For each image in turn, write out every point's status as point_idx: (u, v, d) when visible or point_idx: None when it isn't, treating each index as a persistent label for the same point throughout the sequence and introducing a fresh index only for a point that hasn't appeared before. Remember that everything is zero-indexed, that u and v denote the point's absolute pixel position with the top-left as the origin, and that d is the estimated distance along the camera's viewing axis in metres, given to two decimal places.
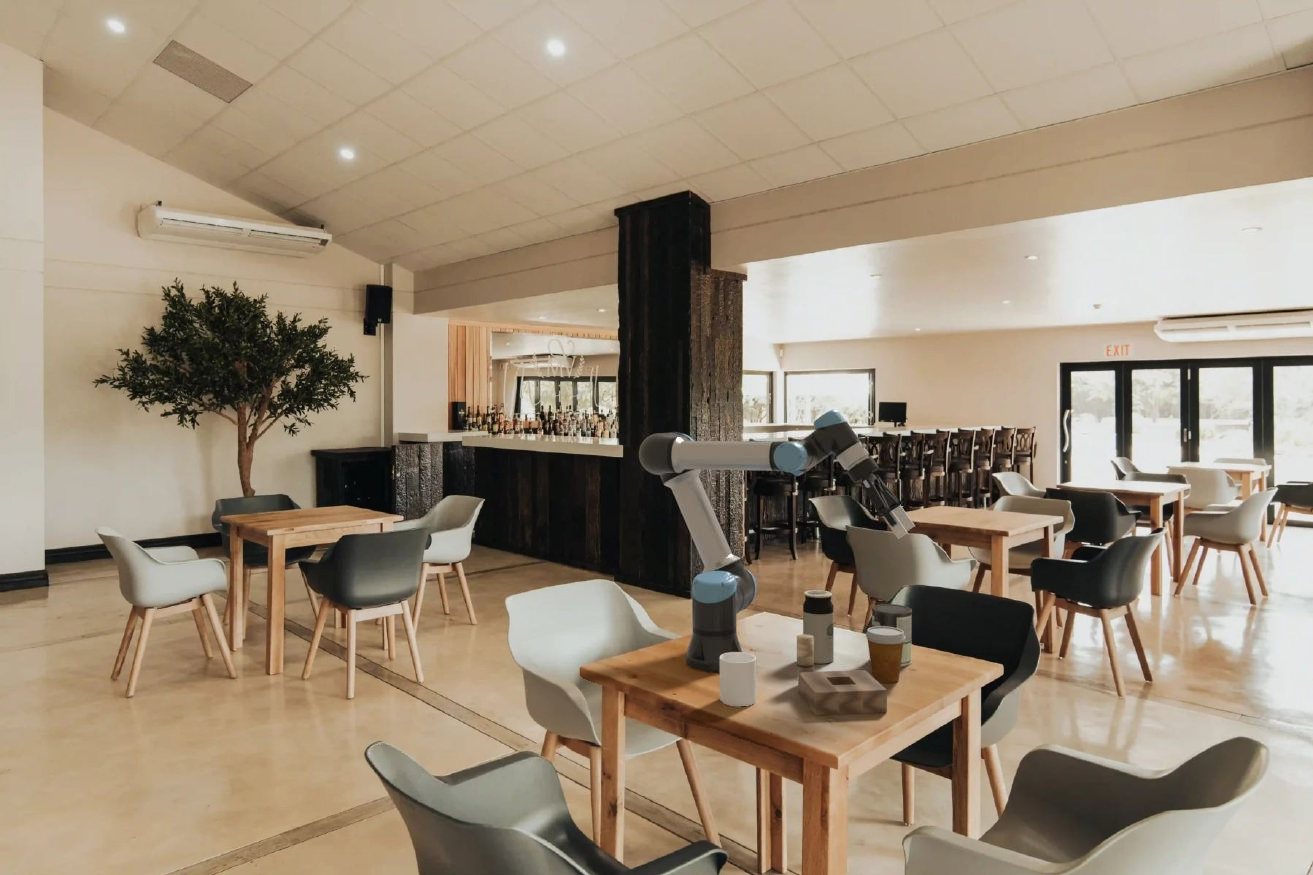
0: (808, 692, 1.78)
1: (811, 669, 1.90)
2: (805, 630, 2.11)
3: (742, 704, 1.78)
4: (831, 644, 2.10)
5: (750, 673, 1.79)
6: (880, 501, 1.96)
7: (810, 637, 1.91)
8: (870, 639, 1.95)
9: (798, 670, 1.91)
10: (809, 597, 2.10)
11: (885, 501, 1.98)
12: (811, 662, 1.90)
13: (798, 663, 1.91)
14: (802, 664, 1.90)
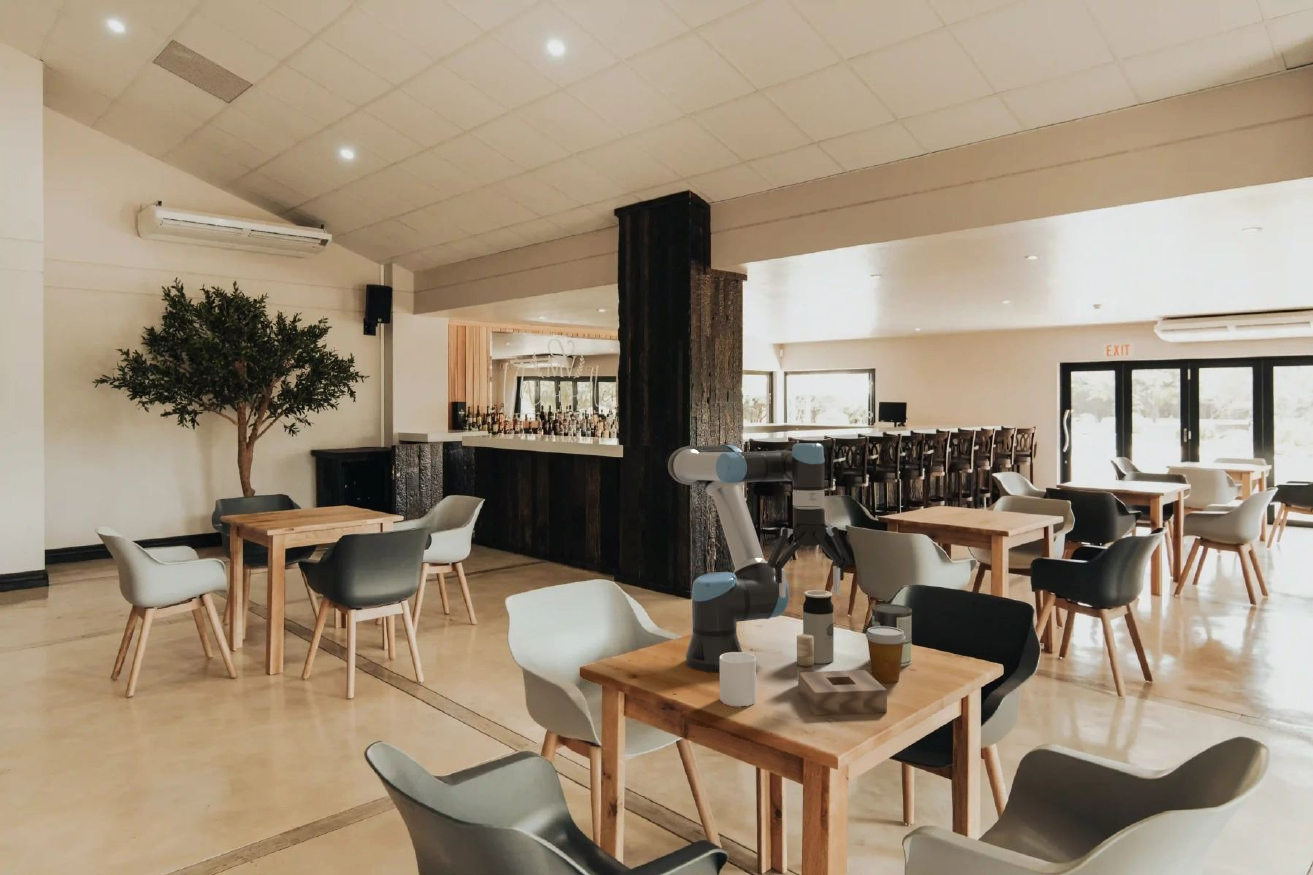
0: (808, 692, 1.78)
1: (811, 669, 1.90)
2: (805, 630, 2.11)
3: (742, 704, 1.78)
4: (831, 644, 2.10)
5: (750, 673, 1.79)
6: (773, 555, 1.90)
7: (810, 637, 1.91)
8: (870, 639, 1.95)
9: (798, 670, 1.91)
10: (809, 597, 2.10)
11: (787, 558, 1.90)
12: (811, 662, 1.90)
13: (798, 663, 1.91)
14: (802, 664, 1.90)
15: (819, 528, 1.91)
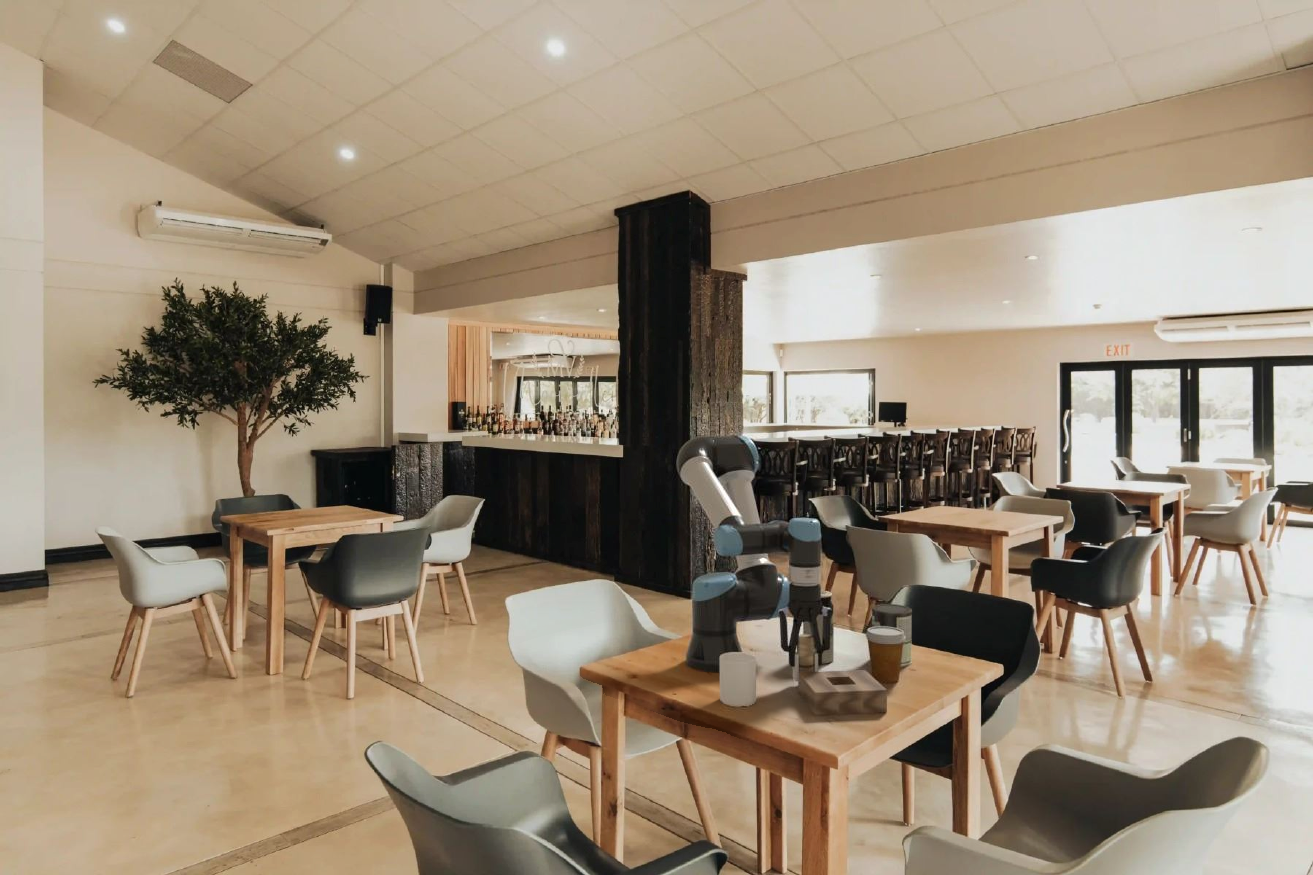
0: (808, 692, 1.78)
1: (811, 669, 1.90)
2: (805, 630, 2.11)
3: (742, 704, 1.78)
4: (831, 644, 2.10)
5: (750, 673, 1.79)
6: (782, 640, 1.91)
7: (810, 637, 1.91)
8: (870, 639, 1.95)
9: None
10: None
11: (795, 640, 1.90)
12: (811, 662, 1.90)
13: None
14: (802, 665, 1.90)
15: (817, 603, 1.91)
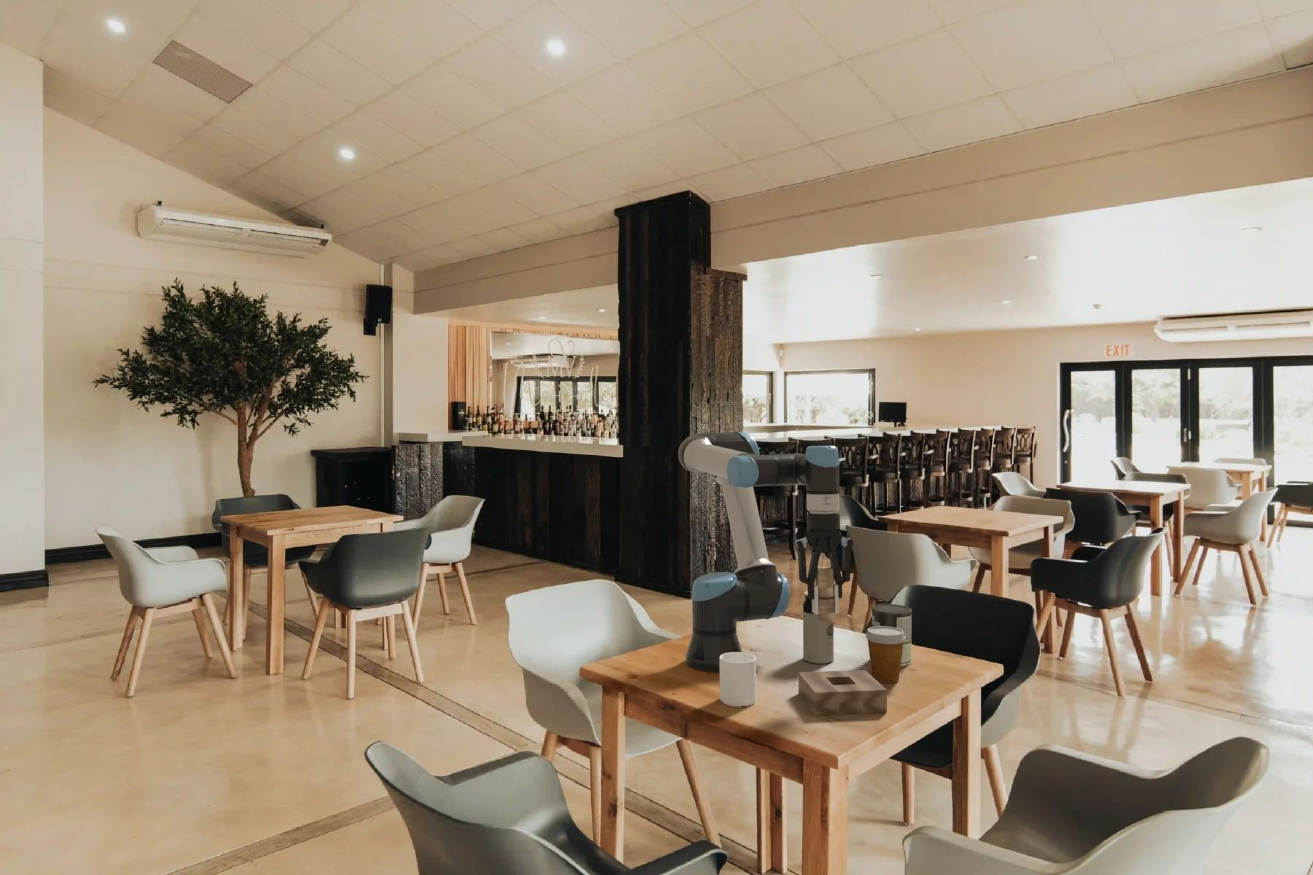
0: (808, 692, 1.78)
1: (831, 601, 1.83)
2: (805, 630, 2.11)
3: (742, 704, 1.78)
4: (831, 644, 2.10)
5: (750, 673, 1.79)
6: (800, 571, 1.84)
7: (829, 568, 1.84)
8: (870, 639, 1.95)
9: None
10: None
11: (814, 571, 1.83)
12: (831, 594, 1.83)
13: None
14: (821, 596, 1.83)
15: (836, 532, 1.84)
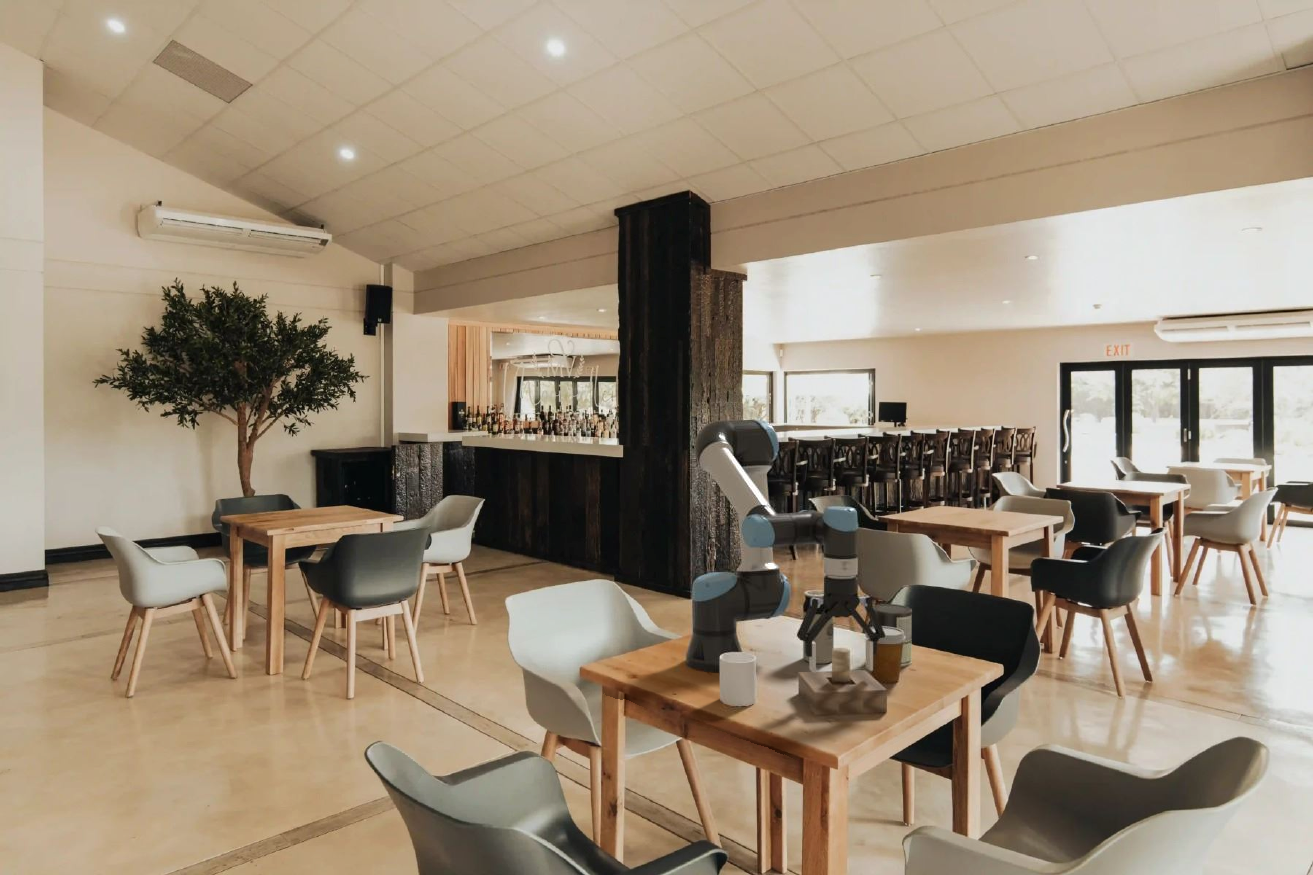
0: (808, 692, 1.78)
1: None
2: None
3: (742, 704, 1.78)
4: (831, 644, 2.10)
5: (750, 673, 1.79)
6: (803, 627, 1.79)
7: (846, 651, 1.79)
8: None
9: None
10: (809, 597, 2.10)
11: (817, 630, 1.79)
12: (848, 677, 1.79)
13: (834, 678, 1.80)
14: (837, 680, 1.79)
15: (852, 598, 1.79)
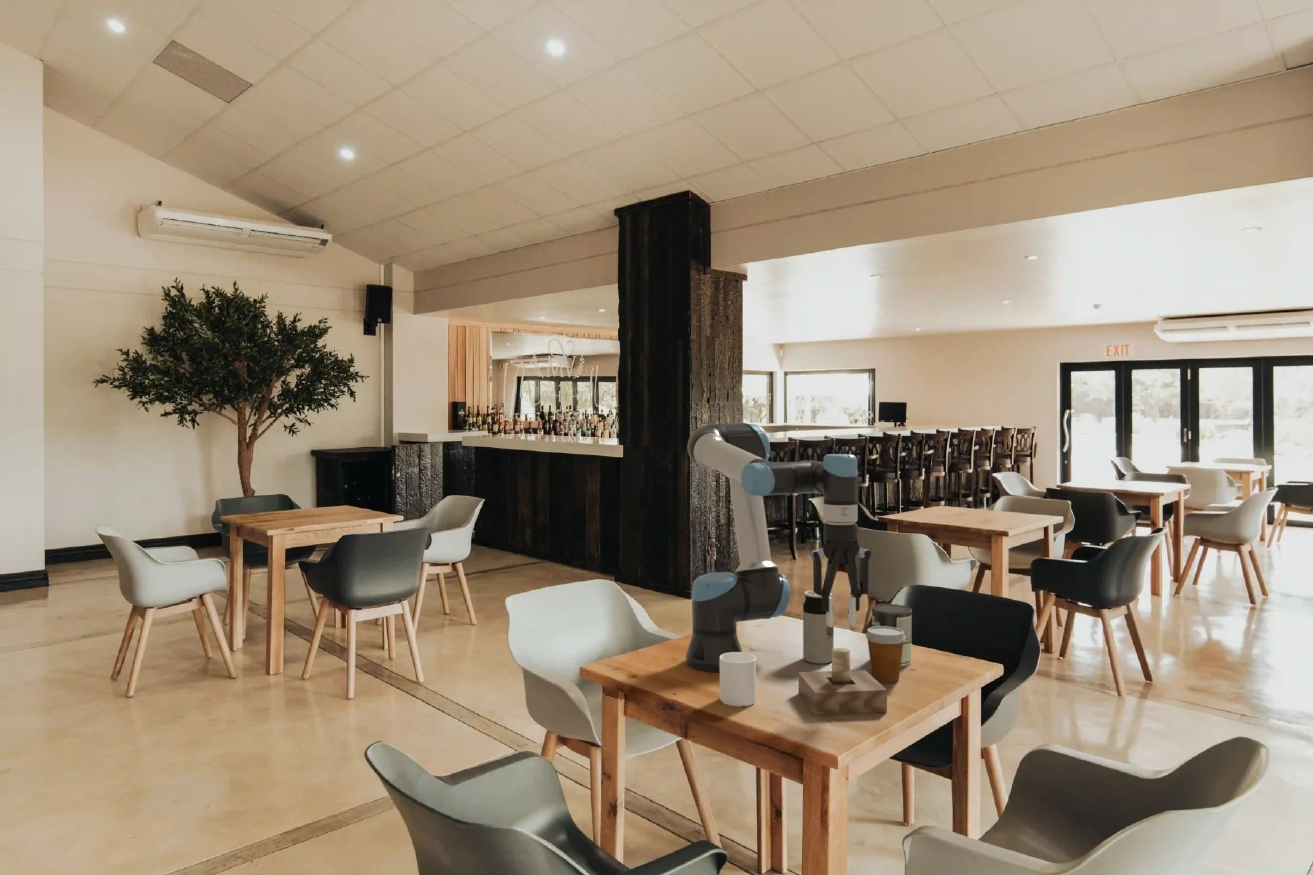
0: (808, 692, 1.78)
1: None
2: (805, 630, 2.11)
3: (742, 704, 1.78)
4: (831, 644, 2.10)
5: (750, 673, 1.79)
6: (815, 583, 1.79)
7: (846, 651, 1.79)
8: (870, 639, 1.95)
9: None
10: (809, 597, 2.10)
11: (829, 583, 1.79)
12: (847, 677, 1.79)
13: (833, 678, 1.80)
14: (837, 680, 1.79)
15: (853, 544, 1.79)
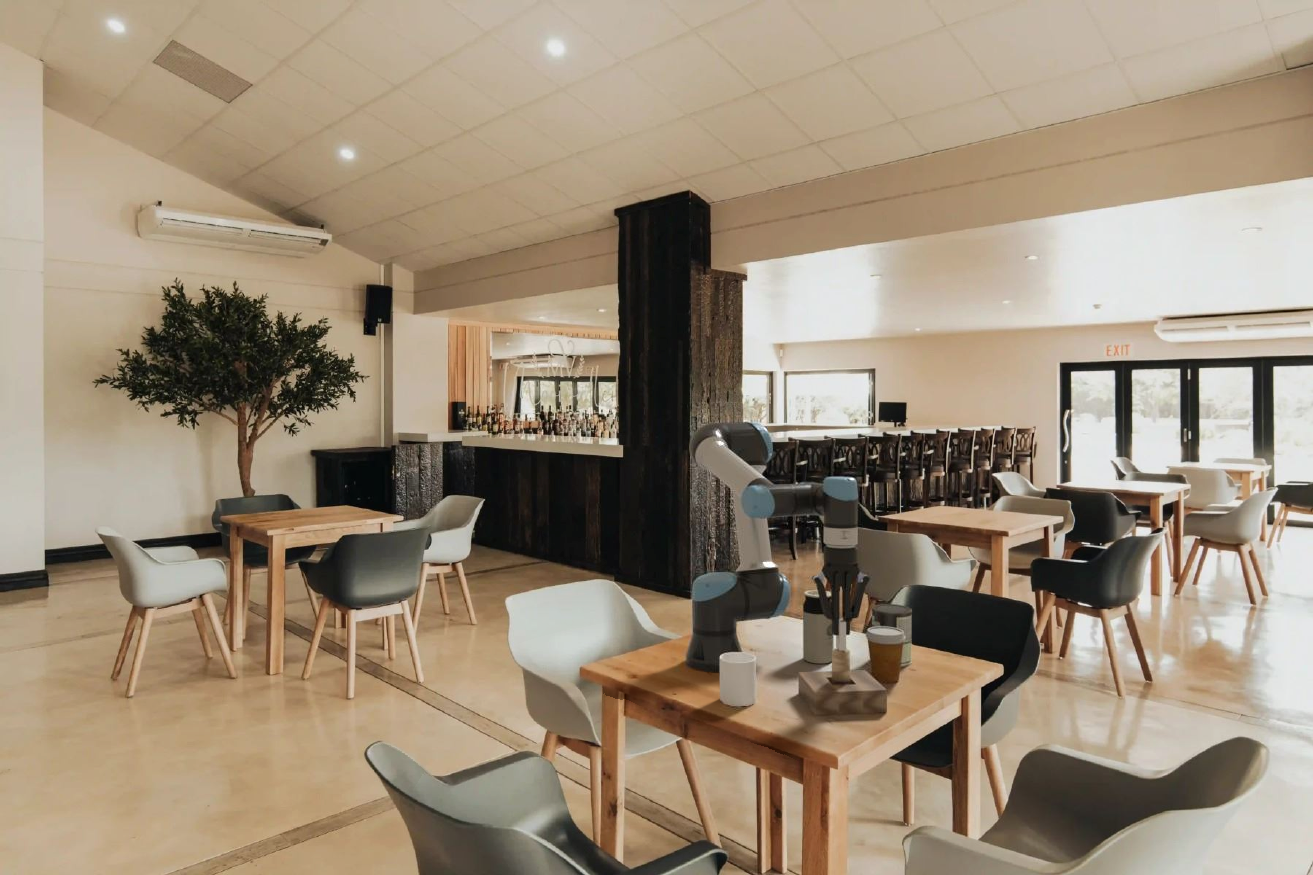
0: (808, 692, 1.78)
1: None
2: (805, 630, 2.11)
3: (742, 704, 1.78)
4: (831, 644, 2.10)
5: (750, 673, 1.79)
6: (823, 607, 1.79)
7: (846, 651, 1.79)
8: (870, 639, 1.95)
9: None
10: (809, 597, 2.10)
11: (837, 606, 1.79)
12: (847, 678, 1.79)
13: (833, 679, 1.80)
14: (837, 680, 1.79)
15: (854, 566, 1.79)
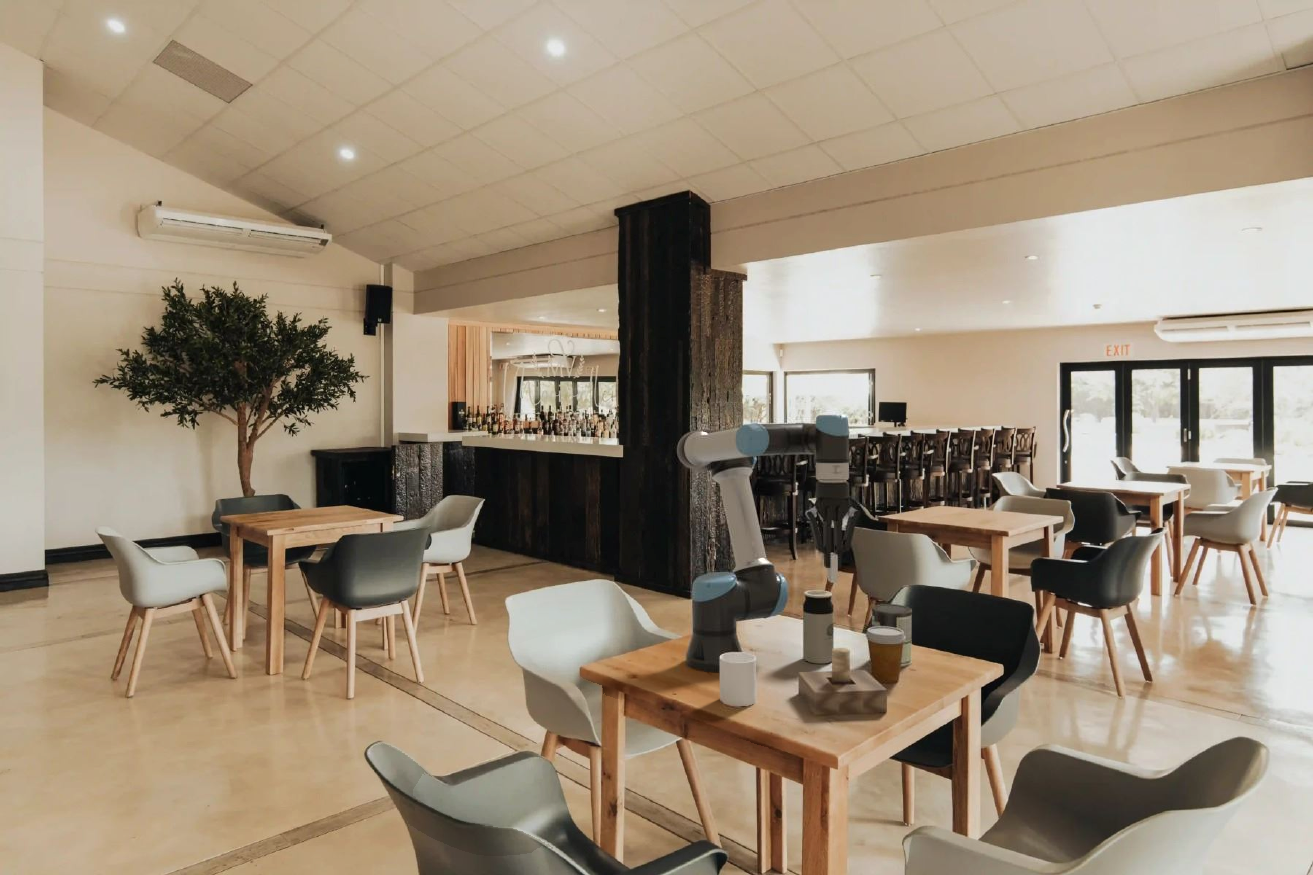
0: (808, 692, 1.78)
1: None
2: (805, 630, 2.11)
3: (742, 704, 1.78)
4: (831, 644, 2.10)
5: (750, 673, 1.79)
6: (816, 541, 1.85)
7: (846, 651, 1.79)
8: (870, 639, 1.95)
9: None
10: (809, 597, 2.10)
11: (828, 539, 1.84)
12: (847, 678, 1.79)
13: (834, 678, 1.80)
14: (837, 680, 1.79)
15: (846, 501, 1.85)
